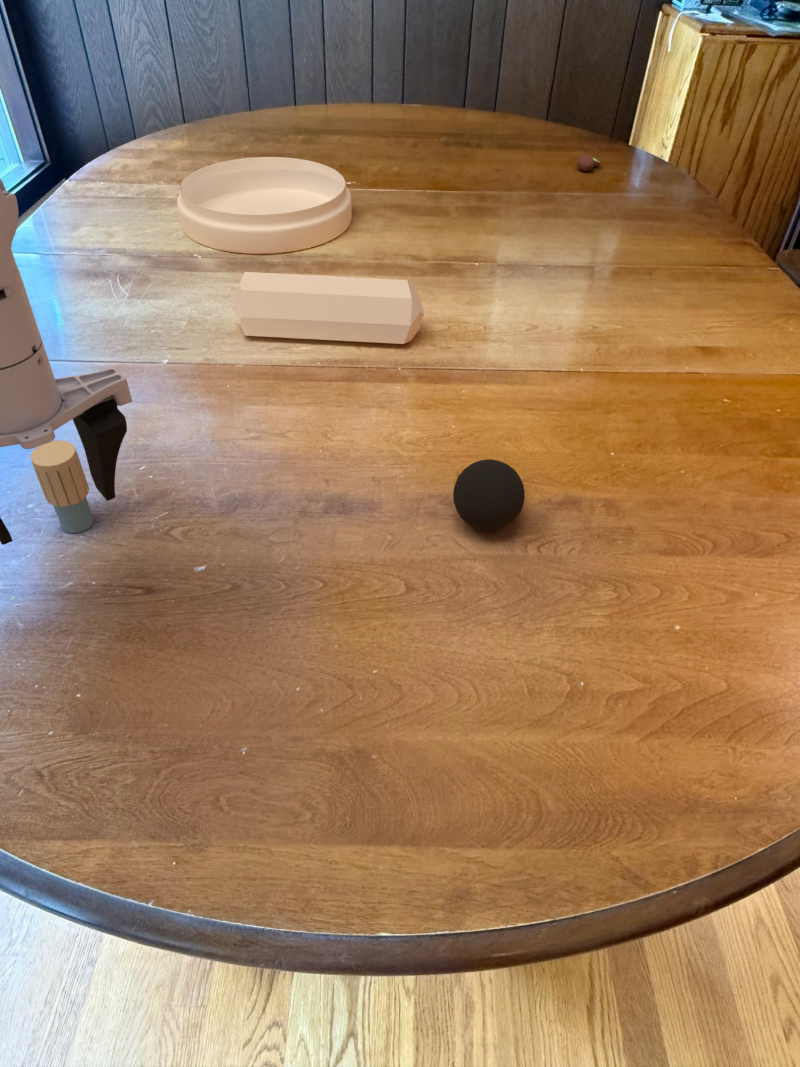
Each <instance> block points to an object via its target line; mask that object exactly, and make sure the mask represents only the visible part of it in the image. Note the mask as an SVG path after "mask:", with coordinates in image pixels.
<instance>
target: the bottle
mask: <svg viewBox="0 0 800 1067" xmlns="http://www.w3.org/2000/svg"><path fill="white" fill-rule="evenodd" d="M52 506H53V508H54V511H55V514H56V517H57V519H58V521H59V523H60V527H61V529H62V530H63V531H64V532H66V533H69V534H78V533H82V532H85V531H87V530H88V529H90V527H91V526H92V525H93V524H94V520H95V519H94V515H93V513H92V511H91V508H90V504H89V500H88V498H87V496H86V497H85V498H84V499H83V500H82V501H81V500H80V502H79V503H76V504H74V505H71V504H69V506H64V507H60V505H59V506H58V507H57V506H54V505H52Z"/></svg>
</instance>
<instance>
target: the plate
mask: <svg viewBox="0 0 800 1067" xmlns="http://www.w3.org/2000/svg"><path fill="white" fill-rule="evenodd" d="M179 191H180V193H179V194H178V196H177V199H176V208H177V213H178V219H179V225H180V228H181V230H182V232H183V233H184V234H185V235H186V236H187V237H188V238H189V239H191V240H193V241H194V242H196V243H197V244H200V245H202V246H205V247H208V248H211V249H215V250H218V251H223V252H229V253H235V254H236V253H237V254H248V255H249V254H251V255H269V254H271V255H272V254H283V253H292V252H297V251H302V250H307V249H310V248H315V247H317V246H320V245H324V244H326V243H328V242H330V241H333V240H334V239H336V238H338V237H340V236H341V235H342V234H343V233H344V232H345V231H347V229H348V228H349V227H350V225H351V223H352V219H353V210H352V208H353V206H352V194H351V192H350V190H349V189H348V187H347V186H346V180H345V178H344V176H343V175H342V174H341V173H340V172H339V171H337V170H336V169H334V168H332V167H330V166H328V165H326V164H324V163H323V164H322V163H320V162H316V161H313V160H308V159H302V158H295V157H283V156H257V157H255V156H254V157H243V158H235V159H229V160H224V161H220V162H215V163H212V164H209V165H206V166H203V167H201V168H199V169H196V170H195V171H193V172H191V173H190V174H188V175H187V176H186V177H184V179H183V180H182V181H181V183H180V184H179Z"/></svg>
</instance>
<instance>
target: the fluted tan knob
mask: <svg viewBox="0 0 800 1067" xmlns="http://www.w3.org/2000/svg"><path fill="white" fill-rule="evenodd" d="M30 461H31V464H32V468H33V470H34V472H35V476H36V478H37V479H38V482H39V485H40V487H41V488H40V489H41V490H42V493H43V495H44V498H45V500H46V502H47V503H48V504H49V505H51V506H53V505H54V506H57V507H58V506H59V505H60V507H64V506H69V504H71V505H74V504H76V503H79V502H80V500H81V501H82V500H83V499H84V498H85V497H86V498H87V496H88V495H89V493H90V492H89V491H90V486H89V483H88V481H87V478H86V474H85V472H84V468H83V465H82V463H81V462H82V461H81V459H80V456H79V453H78V452H77V448H76V446H75V445H74V444H73V443H71V442H70V441H68V440H59V439H58V440H53V441H51V442H48V443H46V444H43V445H40V446H38V447H35V448H33V450H32V452H31V454H30ZM54 506H53V507H54Z"/></svg>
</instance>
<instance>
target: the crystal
mask: <svg viewBox="0 0 800 1067" xmlns="http://www.w3.org/2000/svg"><path fill="white" fill-rule="evenodd" d="M231 306H232V309H233V311H234V314H235V317H236V319H237V322H238V324H239V326H240V328H241V331H242V333H243V335H244V336H247V337H265V338H285V339H286V338H287V339H301V340H302V339H304V340H319V341H322V340H324V341H341V342H342V341H343V342H358V343H359V342H360V343H379V344H395V345H397V344H398V345H404V344H407V343H410V342H412V340H413V339H414V337H415V336H416V334H417V333H418V332H419V330H420V328H421V325H422V322H423V320H424V316H425V311H424V307H423V302H422V298H421V297H420V294H419V293H418V290H417V289H416V286H415V285H414V284H413V283H411V282H410V281H409V280H408V279H395V278H374V277H355V276H336V275H335V276H334V275H316V274H298V273H297V274H296V273H278V272H277V273H276V272H259V271H258V272H257V271H244V273H243V275H242V277H241V279H240V281H239V284H238V286H237V289H236V290H235V293H234V296H233V298H232V300H231Z"/></svg>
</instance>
